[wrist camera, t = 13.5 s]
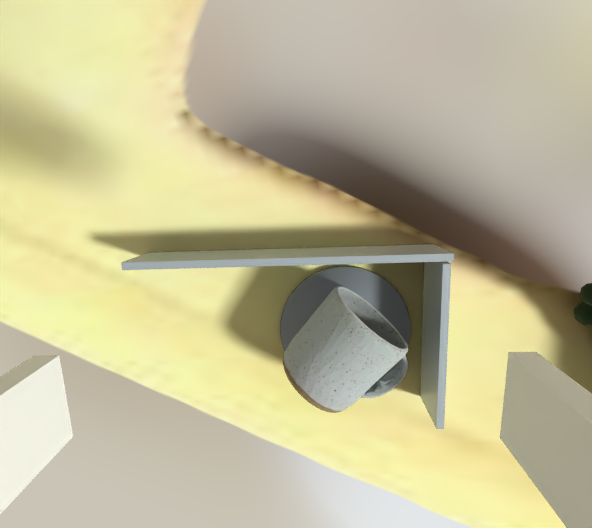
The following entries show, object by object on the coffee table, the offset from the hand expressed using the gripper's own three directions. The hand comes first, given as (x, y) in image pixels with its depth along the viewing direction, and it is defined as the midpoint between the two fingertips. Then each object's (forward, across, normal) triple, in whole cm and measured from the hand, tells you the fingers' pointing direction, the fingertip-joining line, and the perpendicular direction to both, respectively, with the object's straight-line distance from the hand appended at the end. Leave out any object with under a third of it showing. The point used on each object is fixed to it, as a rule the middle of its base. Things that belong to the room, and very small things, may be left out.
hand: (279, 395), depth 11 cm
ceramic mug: (+23, +5, -8) cm, 25 cm away
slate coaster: (+23, +4, -7) cm, 25 cm away
